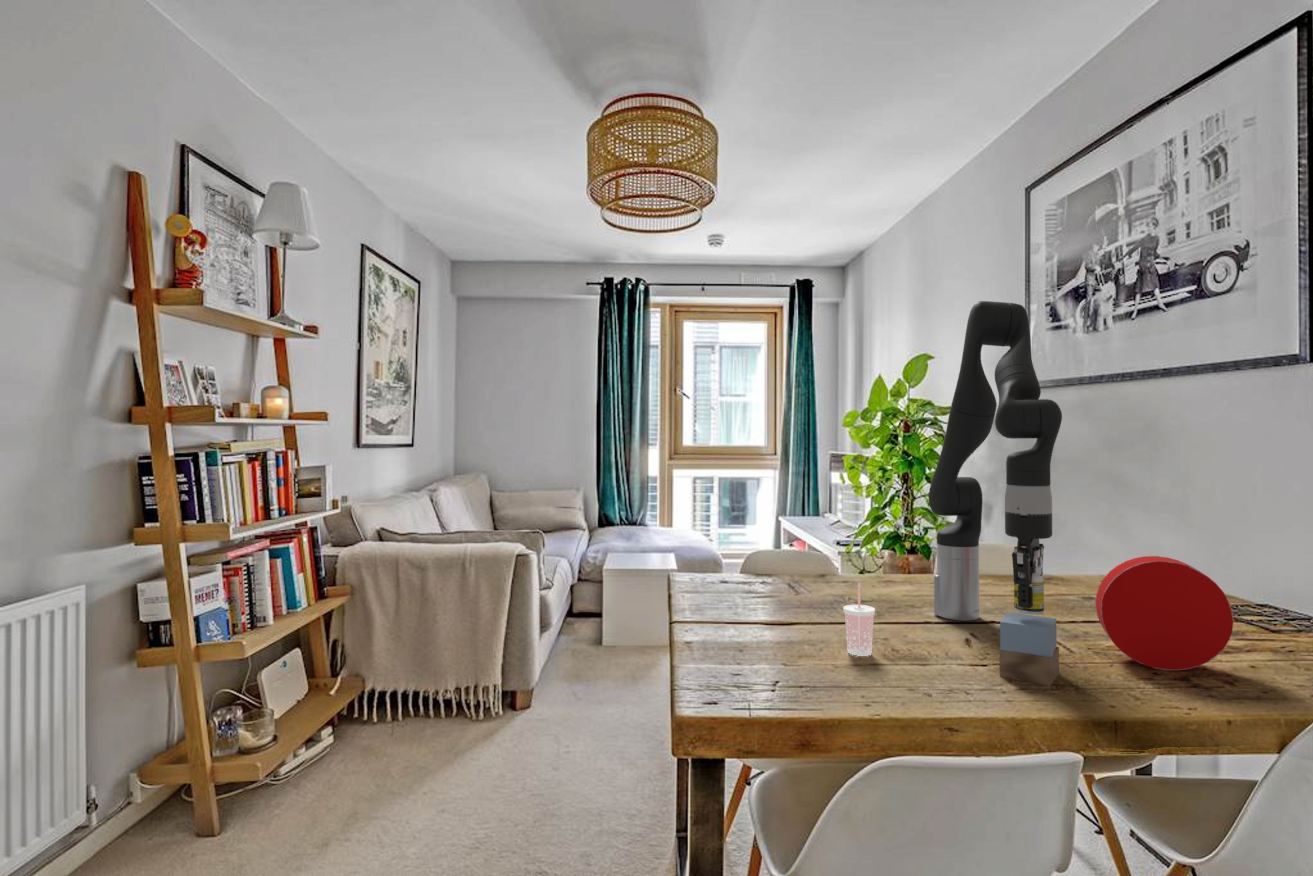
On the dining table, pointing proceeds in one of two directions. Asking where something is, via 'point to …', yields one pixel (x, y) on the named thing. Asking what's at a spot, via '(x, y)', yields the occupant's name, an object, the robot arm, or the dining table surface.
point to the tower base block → (1029, 667)
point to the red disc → (1164, 613)
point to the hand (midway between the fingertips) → (1028, 603)
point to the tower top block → (1028, 634)
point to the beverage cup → (859, 628)
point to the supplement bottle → (1037, 594)
